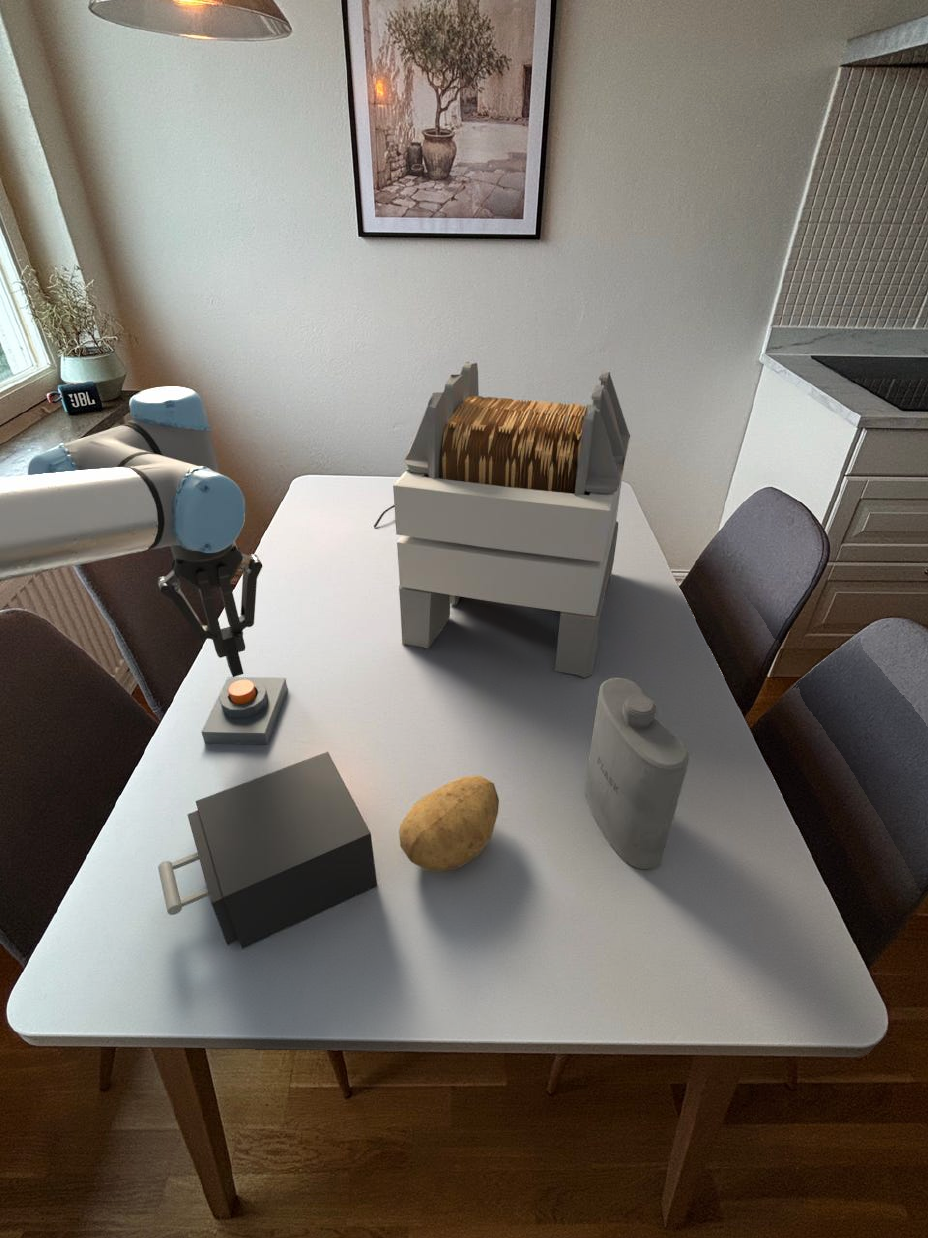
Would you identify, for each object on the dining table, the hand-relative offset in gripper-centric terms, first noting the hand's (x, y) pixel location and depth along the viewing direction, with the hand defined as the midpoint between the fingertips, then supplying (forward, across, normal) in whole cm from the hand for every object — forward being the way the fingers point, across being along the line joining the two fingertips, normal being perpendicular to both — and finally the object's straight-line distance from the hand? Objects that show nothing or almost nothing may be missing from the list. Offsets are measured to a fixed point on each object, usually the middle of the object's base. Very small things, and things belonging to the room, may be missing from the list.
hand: (235, 670), depth 96 cm
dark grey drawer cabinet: (+9, +2, +29) cm, 30 cm away
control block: (+9, 0, 0) cm, 9 cm away
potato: (+9, -16, +35) cm, 39 cm away
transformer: (+9, -50, -5) cm, 51 cm away
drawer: (+8, +6, +29) cm, 30 cm away
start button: (+5, 0, 0) cm, 5 cm away
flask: (+9, -36, +42) cm, 56 cm away
